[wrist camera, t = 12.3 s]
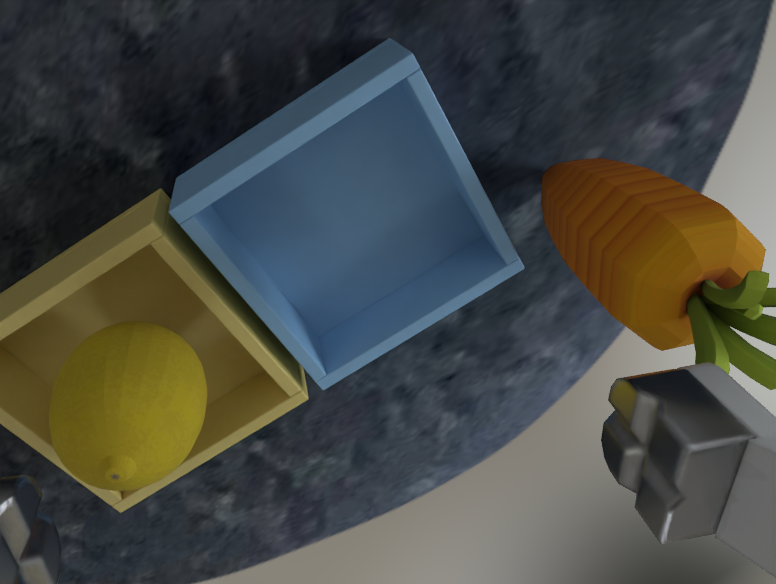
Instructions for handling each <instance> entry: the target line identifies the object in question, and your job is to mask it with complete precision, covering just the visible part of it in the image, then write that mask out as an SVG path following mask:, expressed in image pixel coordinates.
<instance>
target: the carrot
mask: <svg viewBox="0 0 776 584" xmlns="http://www.w3.org/2000/svg"><path fill="white" fill-rule="evenodd" d="M541 204H542V211H543V217H544V222H545V225H546V227H547V229H548V231H549V233H550V235H551V237H552V240H553V242H554V243H555V245H556V247H557V249H558V250H559V252H560V254H561V256H562V258H563V259H564V261H565V262H566V264H567V265H568V266H569V267H570V268H571V270H572V271H573V272H574V273H575V274H576V276H577V277H578V278H579V279H580V280H581V282H582V283H583V284H584V285H585V286H586V288H587V289H588V290H589V291H590V292H591V293H592V294H593V295H594V296H595V297H596V299H597V300H598V301H599V302H600V303H601V304H602V305H603V306H604V307H605V308H606V310H607V311H608V312H609V313H610V314H611V315H612V316H613V317H614V318H616V319H617V320H618V321H620V322H621V323H622V324H624V325H625V326H626V327H628V328H629V329H631V330H632V331H633V332H634V333H636V334H637V335H638V336H640V337H641V338H642V339H644V340H645V341H646V342H648V343H649V344H650V345H652V346H653V347H655V348H657V349H659V350H662V351H663V350H667V349H672V348H676V347H681V346H686V345H690V344H694V345H695V350H696V360H695V365H696V364H702V363H707V362H710V363H712V364H715V365H717V366H719V367H721V368H722V369H723V370H724V371H725V372H726V373H727V374H728V375H729V371H730V365H729V362H730V363H731V364H733V365H734V366H735V367H737V368H738V369H739V370H741V371H742V372H743V373H745V374H746V375H747V376H749V377H750V378H752V379H753V380H755V381H756V382H758V383H760V384H761V385H763V386H765V387H766V388H768V389H770V390H773V389H776V360H775V359H774V358H772V357H770V356H769V355H767V354H765V353H764V352H762V351H760V350H758V349H757V348H755V347H753V346H752V345H750V344H749V343H748V342H747V341H746V340H744V339H743V338H742V337H741V336H740V335H738V334H737V333H736V332H735V331H733V330H732V329H731V328H730V326H731V327H733V328H735V329H737V330H739V331H741V332H743V333H746V334H748V335H750V336H753V337H755V338H757V339H760V340H762V341H765V342H767V343H769V344H772V345H775V346H776V317H773V316H769V315H765V314H762V310H763V307H776V288H767V286H768V283H769V273H766V272H762V271H761V270H762V266H763V261H764V256H765V250H766V249H765V248H764V246H763V245H762V244H761V243H760V242H759V240H757V239H756V237H754V235H753V234H752V233H750V231H749V230H748V229H747V228H746V227H745V226H744V225H743V224H742V223H741V222H740V221H739V220H738V219H737V218H736V217H735V216H734V215H733V214H732V213H731V212H730V211H729V210H728V209H726V208H725V207H724V206H722V205H721V204H719V203H717V202H716V201H714V200H712V199H710V198H708V197H706V196H704V195H702V194H700V193H698V192H696V191H694V190H692V189H690V188H688V187H687V186H685V185H683V184H681V183H678V182H676V181H674V180H672V179H670V178H667V177H665V176H663V175H661V174H659V173H657V172H654V171H652V170H650V169H647V168H643V167H639V166H635V165H631V164H628V163H624V162H618V161H613V160H608V159H602V158H598V159H582V160H575V161H570V162H564V163H558V164H556V165H553V166H550V167H549V168H548V169H547V170H546V172H545V173H544V174H543V176H542V200H541Z"/></svg>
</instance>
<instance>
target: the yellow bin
mask: <svg viewBox="0 0 776 584" xmlns="http://www.w3.org/2000/svg"><path fill="white" fill-rule="evenodd" d="M170 203H171V199H170V198H169V197H168V196H167V194H166V193H165V192H164V191H163V190H162V189H161V188H160V189H158V190H157V191H155V192H154V193H152V194H151V195H149V196H148V197H146V198H145V199H143V200H142V201H140V202H139V203H137V204H136V205H134V206H133V207H131V208H129V209H128V210H126V211H125V212H123V213H122V214H120V215H119V216H117V217H116V218H114V219H113V220H111V221H110V222H108V223H107V224H105V225H104V226H102V227H101V228H99V229H98V230H96V231H94V232H93V233H91V234H90V235H88V236H87V237H85V238H84V239H82V240H81V241H79V242H78V243H76V244H75V245H73V246H72V247H70V248H69V249H67V250H66V251H64V252H63V253H61V254H60V255H58V256H56V257H55V258H53V259H52V260H50V261H49V262H47V263H46V264H44V265H43V266H41V267H40V268H38V269H37V270H35V271H34V272H32V273H31V274H29V275H28V276H26V277H25V278H23V279H21V280H20V281H18V282H17V283H15V284H14V285H12V286H11V287H9V288H8V289H6V290H5V291H3V292H2V293H0V424H2V425H3V426H4V427H6V428H7V429H8V430H10V431H11V432H12V433H14V434H15V435H16V436H18V437H19V438H20V439H22V440H23V441H24V442H26V443H27V444H29V445H30V446H31V447H33V448H34V449H35V450H37V451H38V452H39V453H41V454H42V455H43V456H45V457H46V458H47V459H49V460H50V461H51V462H53V463H54V464H55V465H57V466H58V467H59V468H61V469H62V470H63V471H65V472H66V473H68V474H69V475H70V476H72V477H73V478H74V479H76V480H77V481H78V482H80V483H81V484H82V485H84V486H85V487H86V488H88V489H89V490H90V491H92V492H93V493H94V494H96V495H97V496H98V497H100V498H101V499H102V500H104V501H105V502H106V503H108V504H109V505H111V506H112V507H113V508H115V509H116V510H118V511H119V512H123V511H125V510H126V509H128V508H130V507H131V506H133V505H135V504H136V503H138V502H140V501H141V500H143V499H145V498H146V497H148V496H150V495H151V494H153V493H155V492H156V491H158V490H159V489H161V488H163V487H164V486H166V485H168V484H169V483H171V482H173V481H174V480H176V479H178V478H179V477H181V476H183V475H184V474H186V473H188V472H189V471H191V470H192V469H194V468H196V467H197V466H199V465H201V464H202V463H204V462H206V461H207V460H209V459H211V458H212V457H214V456H216V455H217V454H219V453H221V452H222V451H224V450H225V449H227V448H229V447H230V446H232V445H234V444H235V443H237V442H239V441H240V440H242V439H244V438H245V437H247V436H249V435H250V434H252V433H254V432H255V431H257V430H259V429H260V428H262V427H263V426H265V425H267V424H268V423H270V422H272V421H273V420H275V419H277V418H278V417H280V416H282V415H283V414H285V413H287V412H288V411H290V410H292V409H293V408H295V407H296V406H298V405H300V404H301V403H303V402H305V401H306V400H308V393H307V386H306V380H305V374H304V368H303V367H302V366H301V365H300V363H299V362H298V361H297V360H296V359H295V358H294V357H293V355H292V354H291V353H290V352H289V351H288V350H287V348H286V347H285V346H284V345H283V344H282V343H281V342H280V340H279V339H278V338H277V337H276V336H275V335H274V333H273V332H272V331H271V330H270V329H269V328H268V327H267V325H266V324H265V323H264V322H263V321H262V320H261V318H260V317H259V316H258V315H257V314H256V313H255V312H254V310H253V309H252V308H251V307H250V306H249V305H248V304H247V302H246V301H245V300H244V299H243V298H242V297H241V295H240V294H239V293H238V292H237V291H236V290H235V289H234V287H233V286H232V285H231V284H230V283H229V282H228V280H227V279H226V278H225V277H224V276H223V275H222V274H221V272H220V271H219V270H218V269H217V268H216V267H215V265H214V264H213V263H212V262H211V261H210V260H209V259H208V257H207V256H206V255H205V254H204V253H203V252H202V250H201V249H200V248H199V247H198V246H197V245H196V244H195V242H194V241H193V240H192V239H191V238H190V237H189V235H188V234H187V233H186V232H185V231H184V230H183V229H182V227H181V226H180V224H178V223H177V222H176V220H175V219H174V218H173V217H172V216H171V215H170V214H169V208H170ZM131 321H142V322H150V323H155V324H158V325H161V326H163V327H166V328H168V329H170V330H171V331H173V332H175V333H176V334H178V335H179V336H181V337H182V338H183V339H184V340H185V341H186V342H187V343H188V344H189V345H190V346H191V347H192V348H193V350H194V351H195V353H196V355H197V357H198V358H199V360H200V362H201V364H202V366H203V370H204V374H205V380H206V385H207V404H206V411H205V418H204V422H203V425H202V428H201V431H200V433H199V435H198V437H197V439H196V441H195V443H194V446H193V448H192V450H191V451H190V453H189V454H188V456H187V457H186V458H185V459H184V461H183V462H182V463H181V464H180V465H179V466H178V467H177V468H176V469H175V470H174V471H173V472H172V473H170V474H169V475H167V476H166V477H164V478H163V479H162V480H160V481H158V482H156V483H153V484H151V485H148V486H146V487H143V488H139V489H134V490H129V491H112V490H105V489H100V488H97V487H94V486H91V485H88V484H87V483H85V482H83V481H82V480H80V479H78V478H77V477H75V476H74V475H73V474H72V473H71V472H70V471H69V470H68V469H67V468H65V467H64V465H63V464H62V462H61V461H60V459H59V457H58V455H57V454H56V452H55V450H54V447H53V444H52V440H51V434H50V428H49V406H50V400H51V394H52V389H53V385H54V382H55V379H56V377H57V375H58V373H59V371H60V370H61V368H62V366H63V364H64V362H65V361H66V359H67V357H68V356H69V355H70V353H71V352H72V351H73V350H74V349H75V348H76V347H77V346H78V345H79V344H81V343H82V342H83V341H84V340H85V339H86V338H87V337H88V336H90V335H92V334H94V333H95V332H97V331H99V330H101V329H103V328H104V327H107V326H111V325H114V324H118V323H121V322H131Z"/></svg>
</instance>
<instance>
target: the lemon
mask: <svg viewBox="0 0 776 584" xmlns="http://www.w3.org/2000/svg"><path fill="white" fill-rule="evenodd" d="M206 404H207V385H206V380H205V374H204V370H203V366H202V364H201V362H200V360H199V358H198V357H197V355H196V353H195V351H194V350H193V348H192V347H191V346H190V345H189V344H188V343H187V342H186V341H185V340H184V339H183V338H182V337H181V336H179V335H178V334H176V333H175V332H173V331H171V330H170V329H168V328H166V327H163V326H161V325H158V324H155V323H150V322H142V321H131V322H121V323H118V324H114V325H111V326H107V327H104V328H103V329H101V330H99V331H97V332H95V333H94V334H92V335H90V336H88V337H87V338H86V339H85V340H84V341H83V342H82V343H81V344H79V345H78V346H77V347H76V348H75V349H74V350H73V351H72V352H71V353H70V355H69V356H68V357H67V359H66V361H65V362H64V364H63V366H62V368H61V370H60V371H59V373H58V375H57V377H56V379H55V382H54V385H53V389H52V394H51V400H50V406H49V428H50V434H51V440H52V444H53V447H54V450H55V452H56V454H57V455H58V457H59V459H60V461H61V462H62V464H63V465H64V467H65V468H67V469H68V470H69V471H70V472H71V473H72V474H73V475H74V476H75V477H77V478H78V479H80V480H82V481H83V482H85V483H87V484H88V485H91V486H94V487H97V488H100V489H105V490H112V491H129V490H134V489H139V488H143V487H146V486H148V485H151V484H153V483H156V482H158V481H160V480H162V479H163V478H164V477H166V476H167V475H169V474H170V473H172V472H173V471H174V470H175V469H176V468H177V467H178V466H179V465H180V464H181V463H182V462H183V461H184V459H185V458H186V457H187V456H188V454H189V453H190V451H191V450H192V448H193V446H194V443H195V441H196V439H197V437H198V435H199V433H200V431H201V428H202V425H203V422H204V418H205V411H206Z"/></svg>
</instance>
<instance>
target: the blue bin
mask: <svg viewBox="0 0 776 584" xmlns="http://www.w3.org/2000/svg"><path fill="white" fill-rule="evenodd" d="M169 214H170V215H171V216H172V217H173V218H174V219H175V220H176V222H177V223H178V224H180V226H181V227H182V229H183V230H184V231H185V232H186V233H187V234H188V235H189V237H190V238H191V239H192V240H193V241H194V242H195V244H196V245H197V246H198V247H199V248H200V249H201V250H202V252H203V253H204V254H205V255H206V256H207V257H208V259H209V260H210V261H211V262H212V263H213V264H214V265H215V267H216V268H217V269H218V270H219V271H220V272H221V274H222V275H223V276H224V277H225V278H226V279H227V280H228V282H229V283H230V284H231V285H232V286H233V287H234V289H235V290H236V291H237V292H238V293H239V294H240V295H241V297H242V298H243V299H244V300H245V301H246V302H247V304H248V305H249V306H250V307H251V308H252V309H253V310H254V312H255V313H256V314H257V315H258V316H259V317H260V318H261V320H262V321H263V322H264V323H265V324H266V325H267V327H268V328H269V329H270V330H271V331H272V332H273V333H274V335H275V336H276V337H277V338H278V339H279V340H280V342H281V343H282V344H283V345H284V346H285V347H286V348H287V350H288V351H289V352H290V353H291V354H292V355H293V357H294V358H295V359H296V360H297V361H298V362H299V363H300V365H301V366H302V367H303V368H304V369H305V370H306V372H307V373H308V374H309V375H310V376H311V377H312V378H313V380H314V381H316V383H317V384H318V385H319V387H320V388H321V389H322V390H325V389H326V388H328V387H330V386H331V385H333V384H335V383H336V382H338V381H340V380H341V379H343V378H345V377H346V376H348V375H350V374H351V373H353V372H355V371H356V370H358V369H360V368H361V367H363V366H364V365H366V364H368V363H369V362H371V361H373V360H374V359H376V358H378V357H379V356H381V355H383V354H384V353H386V352H388V351H389V350H391V349H393V348H394V347H396V346H397V345H399V344H401V343H402V342H404V341H406V340H407V339H409V338H411V337H412V336H414V335H416V334H417V333H419V332H421V331H422V330H424V329H426V328H427V327H429V326H430V325H432V324H434V323H435V322H437V321H439V320H440V319H442V318H444V317H445V316H447V315H449V314H450V313H452V312H454V311H455V310H457V309H459V308H460V307H462V306H464V305H465V304H467V303H468V302H470V301H472V300H473V299H475V298H477V297H478V296H480V295H482V294H483V293H485V292H487V291H488V290H490V289H492V288H493V287H495V286H497V285H498V284H500V283H501V282H503V281H505V280H506V279H508V278H510V277H511V276H513V275H515V274H516V273H518V272H520V271H521V270H523V269H524V266H523V264H522V262H521V260H520V258H519V257H518V254H517V252H516V250H515V248H514V247H513V245H512V243H511V241H510V239H509V237H508V235H507V233H506V231H505V229H504V227H503V225H502V224H501V222H500V220H499V218H498V216H497V214H496V212H495V210H494V208H493V206H492V204H491V202H490V201H489V199H488V197H487V195H486V193H485V191H484V189H483V187H482V185H481V183H480V181H479V179H478V177H477V176H476V174H475V172H474V170H473V168H472V166H471V164H470V162H469V160H468V158H467V156H466V154H465V153H464V151H463V149H462V147H461V145H460V143H459V141H458V139H457V137H456V135H455V133H454V131H453V130H452V128H451V126H450V124H449V122H448V120H447V118H446V116H445V114H444V112H443V110H442V108H441V107H440V105H439V103H438V101H437V99H436V97H435V95H434V93H433V91H432V89H431V87H430V85H429V84H428V82H427V80H426V78H425V76H424V74H423V72H422V70H421V69H420V66H419V64H418V62H417V60H416V58H415V57H414V55H413V53H411V52H410V51H409V50H407V49H406V48H404V47H403V46H401V45H400V44H398V43H397V42H395V41H394V40H392V39H391V38H388V39H387V40H385V41H384V42H382V43H381V44H379V45H378V46H376V47H375V48H373V49H372V50H370V51H369V52H367V53H366V54H364V55H362V56H361V57H359V58H358V59H356V60H355V61H353V62H352V63H350V64H349V65H347V66H346V67H344V68H343V69H341V70H340V71H338V72H337V73H335V74H334V75H332V76H331V77H329V78H327V79H326V80H324V81H323V82H321V83H320V84H318V85H317V86H315V87H314V88H312V89H311V90H309V91H308V92H306V93H305V94H303V95H302V96H300V97H299V98H297V99H296V100H294V101H293V102H291V103H289V104H288V105H286V106H285V107H283V108H282V109H280V110H279V111H277V112H276V113H274V114H273V115H271V116H270V117H268V118H267V119H265V120H264V121H262V122H261V123H259V124H258V125H256V126H254V127H253V128H251V129H250V130H248V131H247V132H245V133H244V134H242V135H241V136H239V137H238V138H236V139H235V140H233V141H232V142H230V143H229V144H227V145H226V146H224V147H223V148H221V149H219V150H218V151H216V152H215V153H213V154H212V155H210V156H209V157H207V158H206V159H204V160H203V161H201V162H200V163H198V164H197V165H195V166H194V167H192V168H191V169H189V170H188V171H186V172H185V173H183V174H181V175H180V176H178V177H177V178H176V181H175V185H174V190H173V194H172V199H171V203H170V208H169Z"/></svg>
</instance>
